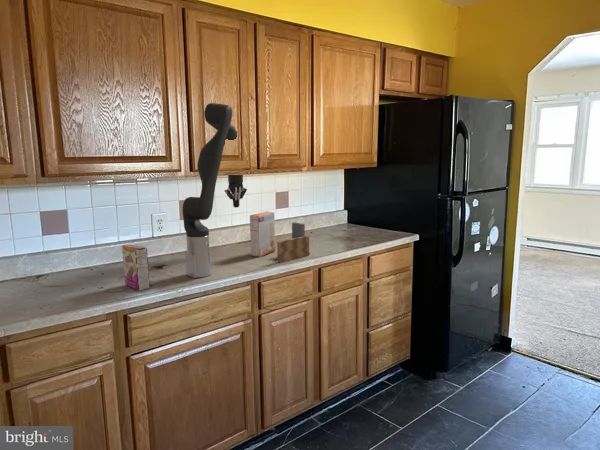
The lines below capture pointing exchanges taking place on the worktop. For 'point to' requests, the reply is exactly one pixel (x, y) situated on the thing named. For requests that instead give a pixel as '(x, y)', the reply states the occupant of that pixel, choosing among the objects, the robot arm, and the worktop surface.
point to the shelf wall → (293, 248)
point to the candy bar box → (136, 266)
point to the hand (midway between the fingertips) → (236, 207)
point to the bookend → (298, 230)
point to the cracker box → (262, 233)
